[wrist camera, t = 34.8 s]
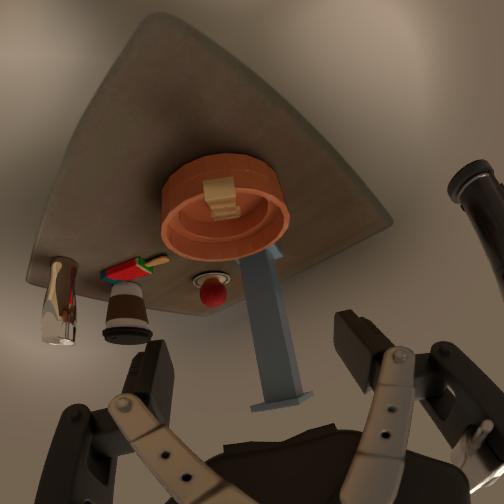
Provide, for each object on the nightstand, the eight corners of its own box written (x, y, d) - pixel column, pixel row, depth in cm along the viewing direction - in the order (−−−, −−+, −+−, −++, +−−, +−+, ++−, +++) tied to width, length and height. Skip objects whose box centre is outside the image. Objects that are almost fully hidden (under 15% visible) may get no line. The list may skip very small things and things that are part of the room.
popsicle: (174, 266, 50) (114, 285, 53) (174, 259, 51) (114, 279, 54) (160, 256, 46) (99, 277, 49) (160, 249, 47) (99, 271, 50)
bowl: (227, 127, 28) (234, 165, 25) (299, 191, 40) (310, 226, 37) (138, 200, 35) (135, 239, 33) (217, 238, 47) (221, 270, 44)
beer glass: (57, 251, 41) (49, 335, 34) (87, 264, 47) (83, 343, 40) (42, 263, 43) (35, 340, 36) (69, 275, 49) (66, 347, 42)
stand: (284, 253, 57) (316, 395, 44) (247, 265, 59) (273, 404, 46) (264, 225, 46) (303, 403, 33) (220, 241, 48) (247, 412, 35)
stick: (243, 195, 22) (240, 175, 22) (197, 201, 21) (194, 181, 21) (240, 217, 40) (238, 205, 39) (214, 220, 39) (212, 209, 39)
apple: (231, 269, 59) (235, 298, 56) (228, 284, 66) (232, 311, 63) (192, 272, 57) (195, 302, 54) (193, 287, 64) (196, 314, 61)
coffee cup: (93, 287, 55) (92, 340, 50) (121, 271, 52) (122, 331, 46) (130, 299, 64) (132, 347, 59) (160, 286, 60) (163, 339, 55)
